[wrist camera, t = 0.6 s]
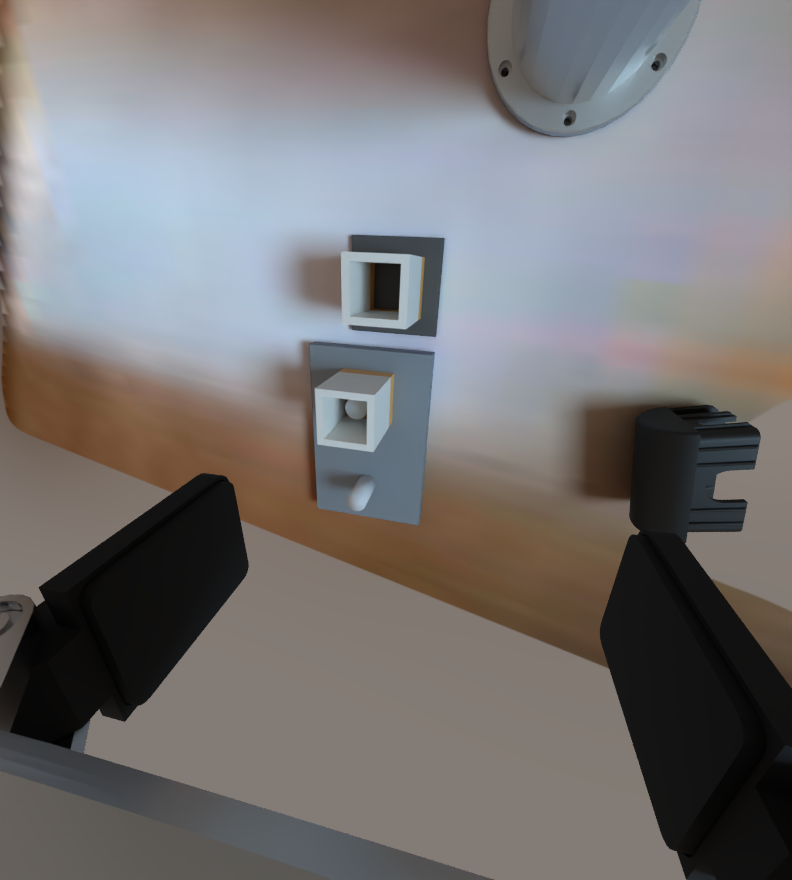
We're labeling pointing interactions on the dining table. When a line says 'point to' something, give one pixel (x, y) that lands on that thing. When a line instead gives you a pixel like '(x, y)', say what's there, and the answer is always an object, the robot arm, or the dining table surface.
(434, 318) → the mat
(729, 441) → the end cap
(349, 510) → the pin board
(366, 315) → the sleeve
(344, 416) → the seated sleeve
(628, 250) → the dining table surface
